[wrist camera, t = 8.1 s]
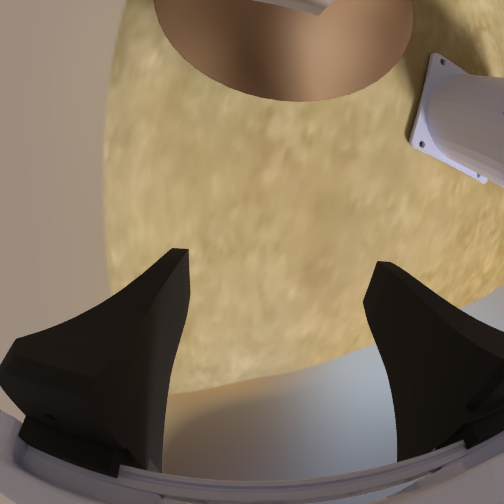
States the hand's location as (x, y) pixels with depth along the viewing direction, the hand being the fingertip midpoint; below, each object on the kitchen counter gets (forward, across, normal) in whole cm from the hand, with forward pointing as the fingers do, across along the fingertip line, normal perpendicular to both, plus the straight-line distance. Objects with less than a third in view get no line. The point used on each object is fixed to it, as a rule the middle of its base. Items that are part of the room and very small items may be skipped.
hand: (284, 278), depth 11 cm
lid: (+6, 0, -13) cm, 14 cm away
